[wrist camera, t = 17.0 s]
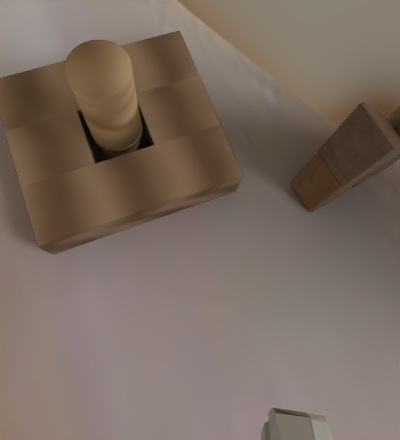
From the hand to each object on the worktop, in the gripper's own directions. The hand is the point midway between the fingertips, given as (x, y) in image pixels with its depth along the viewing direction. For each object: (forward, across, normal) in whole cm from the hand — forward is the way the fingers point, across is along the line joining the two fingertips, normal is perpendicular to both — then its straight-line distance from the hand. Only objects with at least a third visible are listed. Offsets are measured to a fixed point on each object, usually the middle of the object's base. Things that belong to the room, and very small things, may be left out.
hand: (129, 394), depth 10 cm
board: (+27, +8, +3) cm, 29 cm away
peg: (+27, +8, +3) cm, 28 cm away
